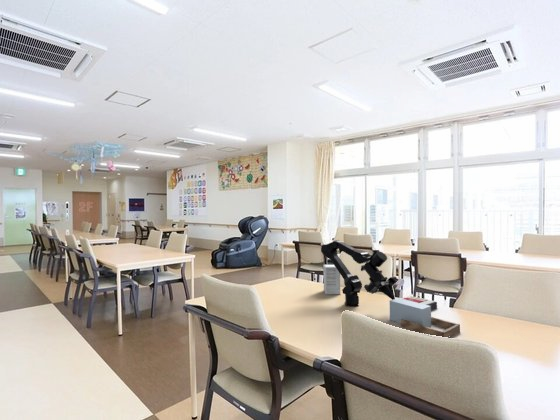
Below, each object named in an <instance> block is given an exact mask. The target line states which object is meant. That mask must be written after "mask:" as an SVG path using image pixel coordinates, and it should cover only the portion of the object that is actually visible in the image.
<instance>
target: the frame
mask: <svg viewBox="0 0 560 420" xmlns="http://www.w3.org/2000/svg"><path fill="white" fill-rule="evenodd" d="M431 325H433V326H436V327H437V326H438V327H440V328H443V329H444V330H443V331H442V330H438V329H436V328H432V327H426V326H423V325H420V324H417V323H413V322H410V321H407V320H404V319H401V323H400V326H401V327H402V328H405V329H408V330H410V331H411V330H412V331H414V332H417V333H420V332H421V333H420V334H423V333H426V334H430V335H436V336H442V337H449V336H451V337H454V336H455V335H457V334H458V333H461V324H460V323H456V322H452V321H448V320H445V319H442V318H437V317H434V316H431ZM426 334H425V335H426ZM449 338H450V337H449Z"/></svg>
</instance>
